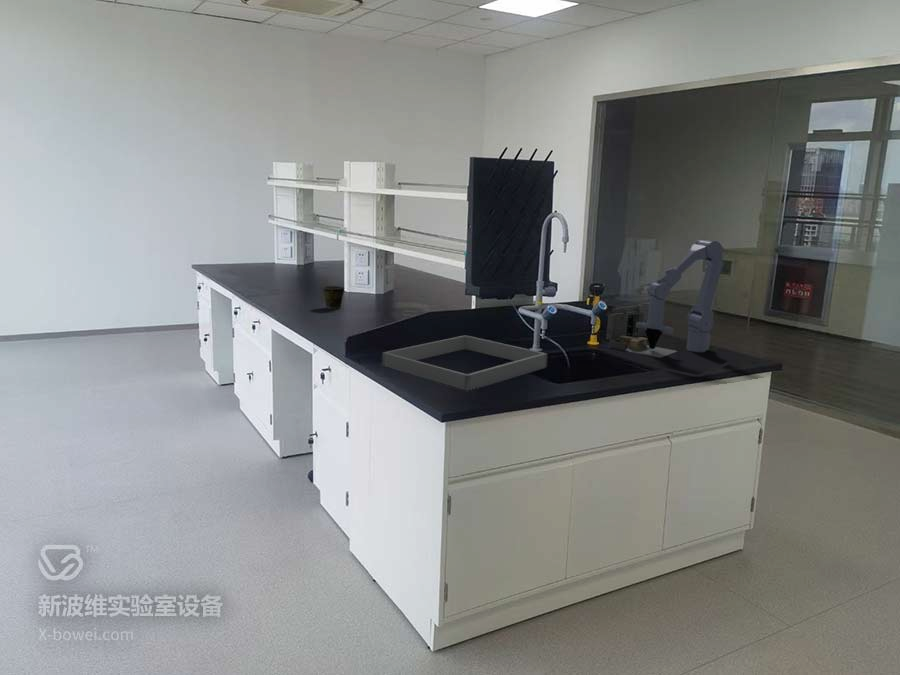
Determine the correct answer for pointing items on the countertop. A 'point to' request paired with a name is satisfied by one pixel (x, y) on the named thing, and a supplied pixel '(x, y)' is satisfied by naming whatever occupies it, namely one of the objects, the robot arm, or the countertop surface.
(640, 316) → the geiger counter
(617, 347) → the bracket
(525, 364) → the grey square frame
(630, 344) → the t block
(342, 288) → the ceramic cup
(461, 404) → the countertop surface
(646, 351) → the mat
